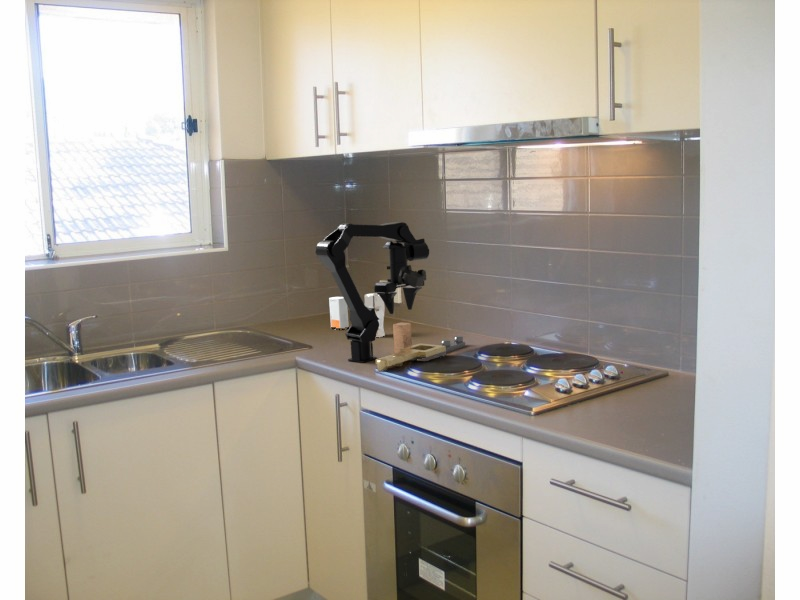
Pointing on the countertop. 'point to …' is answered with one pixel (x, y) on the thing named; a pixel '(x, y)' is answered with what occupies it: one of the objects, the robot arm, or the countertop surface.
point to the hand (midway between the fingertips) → (400, 311)
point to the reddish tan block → (402, 336)
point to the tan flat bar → (419, 352)
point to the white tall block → (376, 310)
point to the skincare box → (338, 312)
